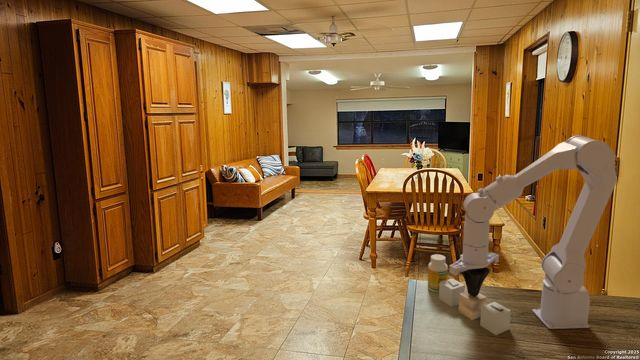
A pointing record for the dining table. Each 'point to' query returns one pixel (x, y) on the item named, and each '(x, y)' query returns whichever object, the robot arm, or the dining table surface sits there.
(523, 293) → the dining table surface
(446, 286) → the marked block 7
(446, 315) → the dining table surface
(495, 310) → the marked block 1
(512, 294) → the dining table surface
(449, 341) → the dining table surface
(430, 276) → the supplement bottle
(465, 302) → the plain block
